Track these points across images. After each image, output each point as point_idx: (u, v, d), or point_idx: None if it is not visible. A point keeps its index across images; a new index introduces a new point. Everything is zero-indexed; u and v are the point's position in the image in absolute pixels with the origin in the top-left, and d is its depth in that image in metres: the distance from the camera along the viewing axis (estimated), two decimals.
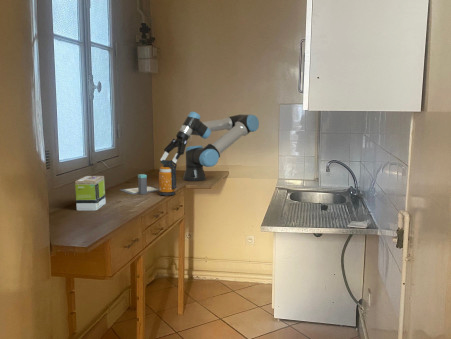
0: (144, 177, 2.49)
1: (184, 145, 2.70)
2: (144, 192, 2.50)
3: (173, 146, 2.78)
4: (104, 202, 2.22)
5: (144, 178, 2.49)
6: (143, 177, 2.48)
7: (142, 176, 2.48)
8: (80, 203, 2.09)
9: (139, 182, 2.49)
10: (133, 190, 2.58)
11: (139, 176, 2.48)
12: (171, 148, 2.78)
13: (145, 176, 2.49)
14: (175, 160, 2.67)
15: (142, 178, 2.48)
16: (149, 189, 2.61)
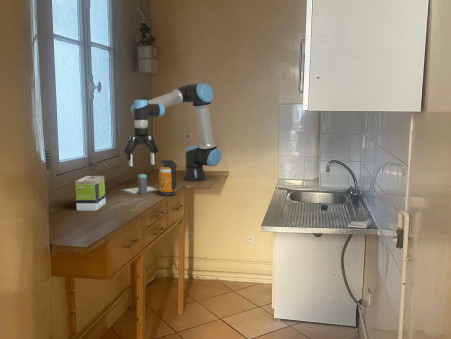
0: (144, 177, 2.49)
1: None
2: (144, 192, 2.50)
3: None
4: (104, 202, 2.22)
5: (144, 178, 2.49)
6: (143, 177, 2.48)
7: (142, 176, 2.48)
8: (80, 203, 2.09)
9: (139, 182, 2.49)
10: (133, 190, 2.58)
11: (139, 176, 2.49)
12: None
13: (145, 176, 2.49)
14: None
15: (142, 178, 2.48)
16: (149, 189, 2.61)
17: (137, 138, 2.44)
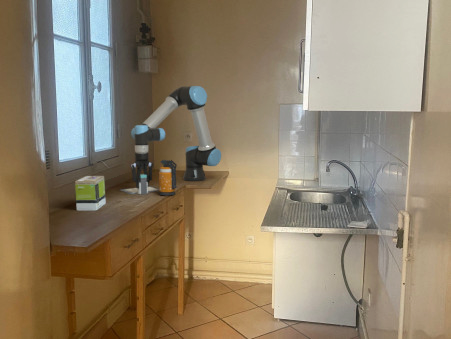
0: (144, 177, 2.49)
1: None
2: (144, 192, 2.50)
3: None
4: (104, 202, 2.22)
5: (144, 178, 2.49)
6: (143, 177, 2.48)
7: (142, 176, 2.48)
8: (80, 203, 2.09)
9: None
10: (133, 190, 2.58)
11: None
12: None
13: (145, 176, 2.49)
14: None
15: (142, 178, 2.48)
16: (149, 189, 2.61)
17: (138, 163, 2.46)
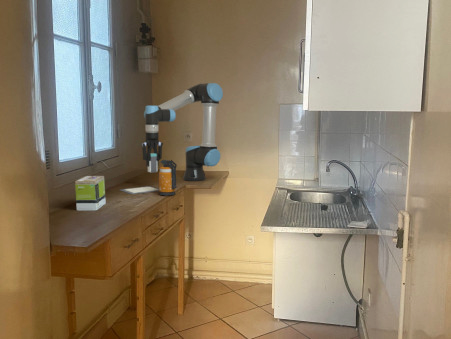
0: (154, 156, 2.58)
1: None
2: (154, 170, 2.59)
3: None
4: (104, 202, 2.22)
5: (154, 157, 2.58)
6: (153, 156, 2.57)
7: (152, 155, 2.57)
8: (80, 203, 2.09)
9: None
10: (133, 190, 2.58)
11: None
12: None
13: (155, 155, 2.58)
14: None
15: (152, 157, 2.57)
16: (149, 189, 2.61)
17: (148, 142, 2.55)
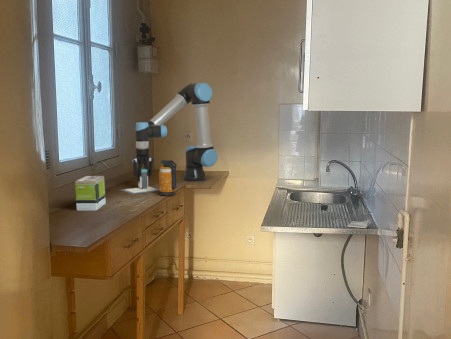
0: (145, 171, 2.62)
1: None
2: (145, 186, 2.63)
3: None
4: (104, 202, 2.22)
5: (145, 172, 2.63)
6: (144, 171, 2.62)
7: (143, 170, 2.61)
8: (80, 203, 2.09)
9: (140, 176, 2.63)
10: (133, 190, 2.58)
11: None
12: None
13: (146, 170, 2.63)
14: None
15: (143, 172, 2.62)
16: (149, 189, 2.61)
17: (139, 158, 2.60)
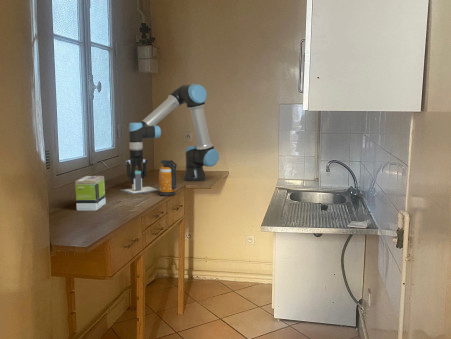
0: (138, 173, 2.55)
1: None
2: (138, 188, 2.57)
3: None
4: (104, 202, 2.22)
5: (139, 174, 2.56)
6: (137, 173, 2.55)
7: (136, 172, 2.55)
8: (80, 203, 2.09)
9: (134, 178, 2.56)
10: (133, 190, 2.58)
11: None
12: None
13: (139, 172, 2.56)
14: None
15: (136, 174, 2.55)
16: (149, 189, 2.61)
17: (132, 159, 2.53)
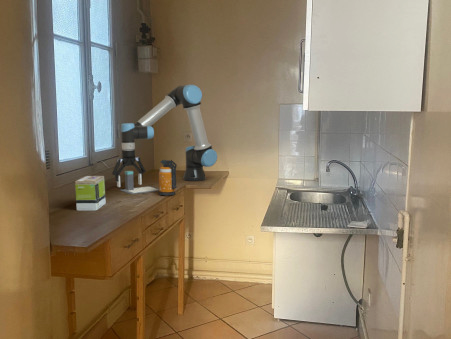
0: (131, 174, 2.58)
1: None
2: (131, 188, 2.59)
3: None
4: (104, 202, 2.22)
5: (131, 174, 2.58)
6: (130, 173, 2.57)
7: (129, 173, 2.57)
8: (80, 203, 2.09)
9: (126, 178, 2.58)
10: (133, 190, 2.58)
11: (126, 173, 2.57)
12: None
13: (132, 173, 2.58)
14: None
15: (129, 175, 2.57)
16: (149, 189, 2.61)
17: (124, 160, 2.55)
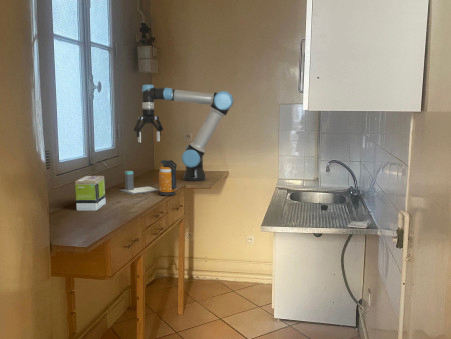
0: (131, 174, 2.58)
1: None
2: (131, 188, 2.59)
3: None
4: (104, 202, 2.22)
5: (131, 174, 2.58)
6: (130, 173, 2.57)
7: (129, 173, 2.57)
8: (80, 203, 2.09)
9: (126, 178, 2.58)
10: (133, 190, 2.58)
11: (126, 173, 2.57)
12: None
13: (132, 173, 2.58)
14: None
15: (129, 175, 2.57)
16: (149, 189, 2.61)
17: (145, 118, 2.82)
